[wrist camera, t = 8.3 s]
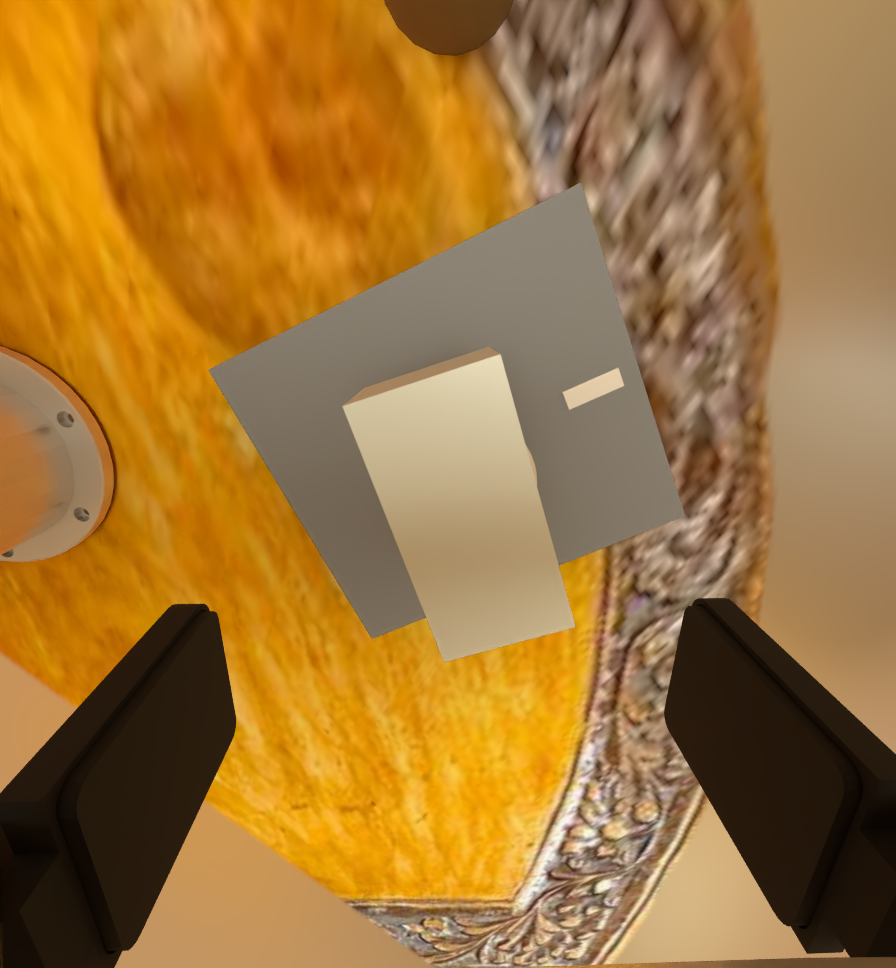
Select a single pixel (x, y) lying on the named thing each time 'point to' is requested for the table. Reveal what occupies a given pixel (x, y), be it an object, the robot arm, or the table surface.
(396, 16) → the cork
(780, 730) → the robot arm
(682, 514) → the base plate
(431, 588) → the cream rectangular block
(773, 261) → the table surface
